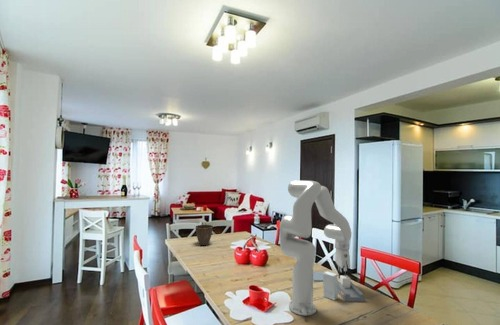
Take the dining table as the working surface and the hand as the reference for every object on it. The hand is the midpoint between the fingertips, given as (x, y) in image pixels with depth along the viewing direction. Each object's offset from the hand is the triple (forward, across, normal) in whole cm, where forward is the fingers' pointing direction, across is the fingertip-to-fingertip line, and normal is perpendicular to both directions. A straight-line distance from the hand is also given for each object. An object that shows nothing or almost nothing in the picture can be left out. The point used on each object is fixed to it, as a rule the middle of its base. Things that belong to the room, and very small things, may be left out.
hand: (341, 278), depth 142 cm
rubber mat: (+4, +13, +8) cm, 16 cm away
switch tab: (+2, -4, 0) cm, 5 cm away
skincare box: (+5, -12, +11) cm, 17 cm away
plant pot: (+5, +79, +89) cm, 120 cm away
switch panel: (+4, -7, 0) cm, 9 cm away
